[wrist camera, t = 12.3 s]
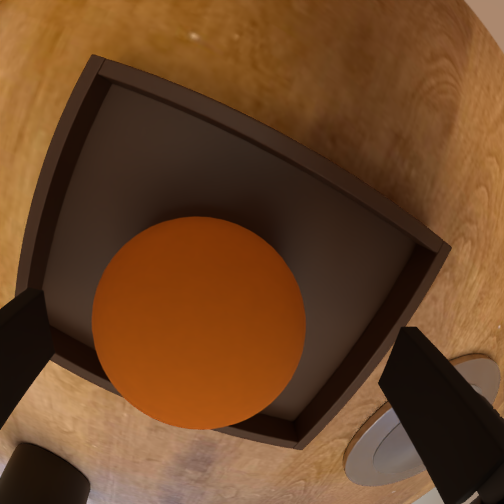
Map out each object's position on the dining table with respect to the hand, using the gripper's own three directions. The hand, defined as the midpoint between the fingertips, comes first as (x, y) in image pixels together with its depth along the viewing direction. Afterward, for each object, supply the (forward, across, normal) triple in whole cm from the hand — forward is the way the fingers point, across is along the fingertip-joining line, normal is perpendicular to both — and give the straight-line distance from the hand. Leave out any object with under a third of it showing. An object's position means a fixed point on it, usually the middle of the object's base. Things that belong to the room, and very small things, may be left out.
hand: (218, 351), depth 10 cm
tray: (+6, 0, 0) cm, 6 cm away
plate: (+7, +20, -14) cm, 26 cm away
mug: (+6, -16, -26) cm, 31 cm away
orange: (+2, -1, 0) cm, 2 cm away
